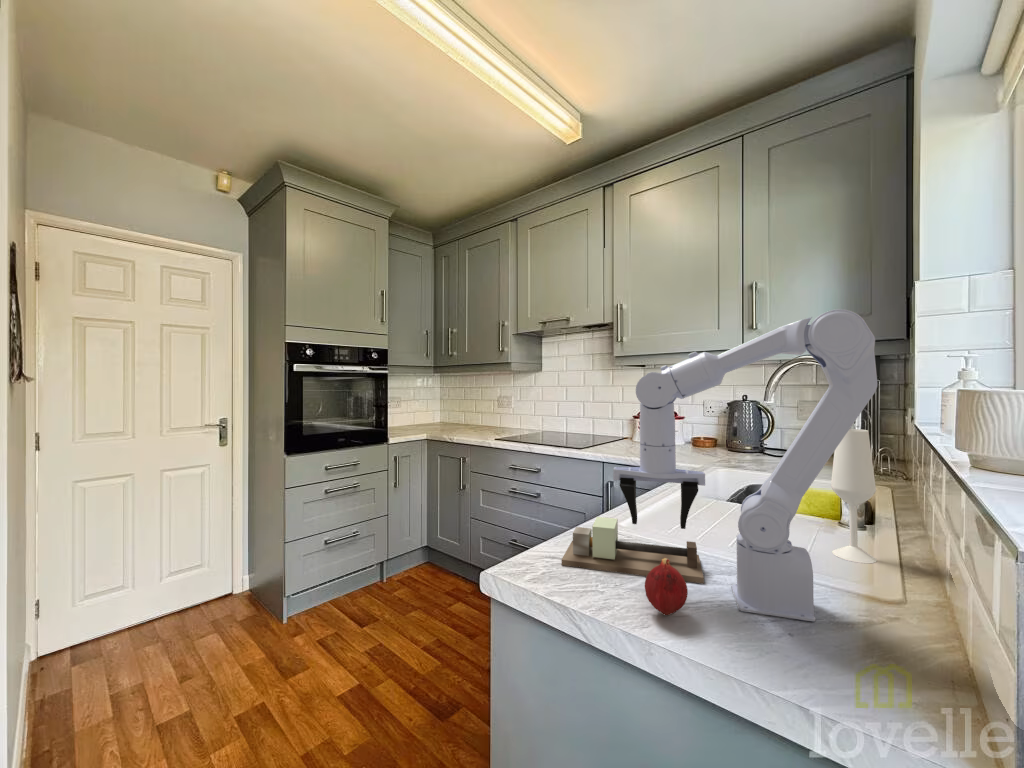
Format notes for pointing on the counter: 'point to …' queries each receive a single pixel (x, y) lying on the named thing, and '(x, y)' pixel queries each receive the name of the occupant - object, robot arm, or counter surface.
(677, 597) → the onion
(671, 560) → the cord board
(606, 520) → the sleeve
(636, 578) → the counter surface
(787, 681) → the counter surface
